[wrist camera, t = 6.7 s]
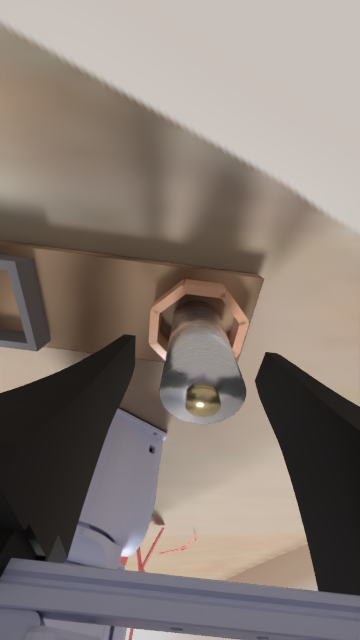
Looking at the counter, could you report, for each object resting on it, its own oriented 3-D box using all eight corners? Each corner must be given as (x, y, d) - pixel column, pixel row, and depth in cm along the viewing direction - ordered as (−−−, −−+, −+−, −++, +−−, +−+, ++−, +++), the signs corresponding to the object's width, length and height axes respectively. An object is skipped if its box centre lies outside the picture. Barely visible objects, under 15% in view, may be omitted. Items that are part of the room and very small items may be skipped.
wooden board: (256, 274, 14) (264, 278, 12) (231, 360, 17) (234, 370, 16) (-53, 233, 14) (-80, 233, 12) (-17, 328, 17) (-35, 337, 16)
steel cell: (230, 318, 14) (269, 401, 7) (199, 350, 15) (207, 445, 8) (192, 290, 13) (196, 351, 6) (163, 326, 14) (140, 409, 8)
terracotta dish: (251, 287, 13) (258, 293, 11) (228, 363, 16) (232, 375, 14) (156, 275, 13) (152, 279, 11) (151, 353, 15) (147, 365, 14)
